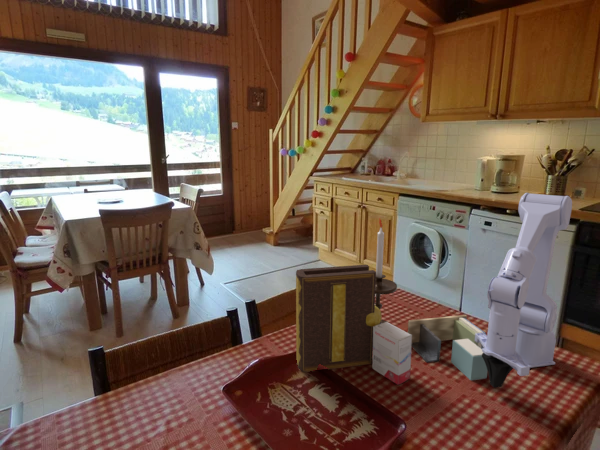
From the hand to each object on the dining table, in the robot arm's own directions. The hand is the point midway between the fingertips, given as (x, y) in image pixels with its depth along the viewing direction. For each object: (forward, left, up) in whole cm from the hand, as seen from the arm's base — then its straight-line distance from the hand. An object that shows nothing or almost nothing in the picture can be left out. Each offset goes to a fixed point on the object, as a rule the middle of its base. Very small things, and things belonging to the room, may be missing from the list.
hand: (495, 385), depth 84 cm
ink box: (+20, -12, -2) cm, 23 cm away
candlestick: (+14, -35, -2) cm, 38 cm away
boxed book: (0, -10, -2) cm, 10 cm away
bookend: (+7, -19, -2) cm, 20 cm away
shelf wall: (0, -24, -2) cm, 24 cm away
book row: (-7, -19, -2) cm, 20 cm away
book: (+31, -20, -2) cm, 37 cm away
